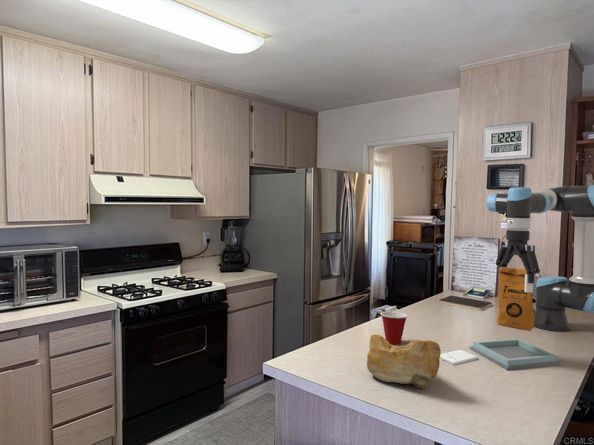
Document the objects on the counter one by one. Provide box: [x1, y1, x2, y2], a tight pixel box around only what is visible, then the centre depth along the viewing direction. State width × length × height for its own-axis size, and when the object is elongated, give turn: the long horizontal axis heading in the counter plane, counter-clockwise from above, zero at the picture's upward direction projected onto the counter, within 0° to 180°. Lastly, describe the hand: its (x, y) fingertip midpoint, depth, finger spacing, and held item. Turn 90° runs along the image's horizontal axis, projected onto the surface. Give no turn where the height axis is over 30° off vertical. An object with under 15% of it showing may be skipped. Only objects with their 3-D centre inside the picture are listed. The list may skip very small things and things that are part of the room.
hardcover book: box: [439, 295, 493, 311], centre depth 229 cm, size 16×23×2 cm
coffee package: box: [496, 267, 535, 332], centre depth 150 cm, size 10×12×22 cm
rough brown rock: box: [366, 333, 442, 390], centre depth 132 cm, size 23×17×15 cm
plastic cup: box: [380, 311, 408, 346], centre depth 166 cm, size 11×11×12 cm
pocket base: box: [469, 338, 561, 371], centre depth 152 cm, size 22×20×3 cm
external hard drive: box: [439, 349, 478, 366], centre depth 150 cm, size 2×8×12 cm
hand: (515, 288), depth 150 cm, fingers closed on coffee package, 12 cm apart
